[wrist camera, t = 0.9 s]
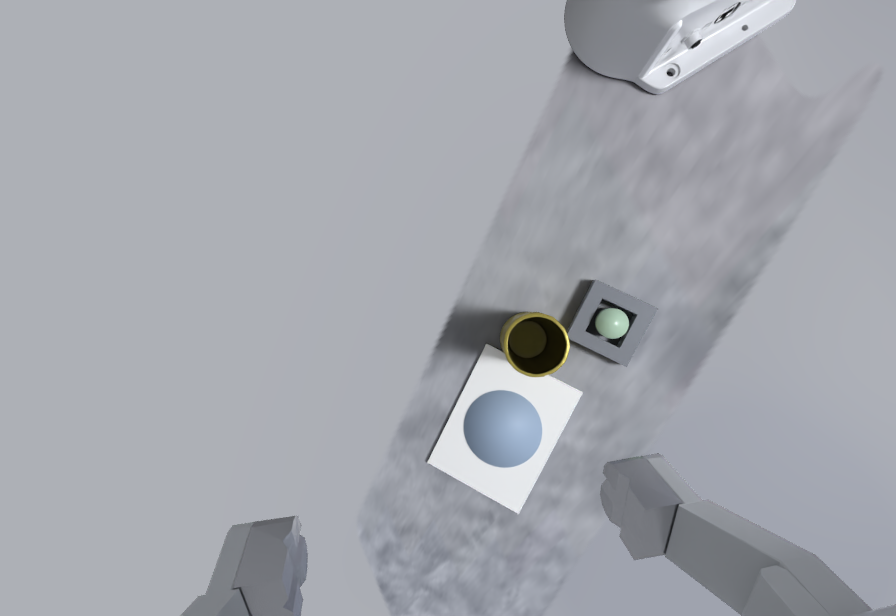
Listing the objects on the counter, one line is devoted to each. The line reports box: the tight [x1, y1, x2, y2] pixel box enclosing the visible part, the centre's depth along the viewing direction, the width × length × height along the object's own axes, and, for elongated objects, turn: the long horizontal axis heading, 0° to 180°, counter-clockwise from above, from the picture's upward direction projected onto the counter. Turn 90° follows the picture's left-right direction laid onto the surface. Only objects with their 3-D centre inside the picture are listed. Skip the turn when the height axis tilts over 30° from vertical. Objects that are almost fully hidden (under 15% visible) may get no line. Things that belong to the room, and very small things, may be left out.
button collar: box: [567, 280, 658, 367], centre depth 45 cm, size 7×7×2 cm
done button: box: [595, 308, 629, 339], centre depth 44 cm, size 3×3×1 cm
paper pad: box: [427, 344, 583, 514], centre depth 48 cm, size 16×12×1 cm
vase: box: [500, 312, 570, 377], centre depth 40 cm, size 6×6×14 cm
